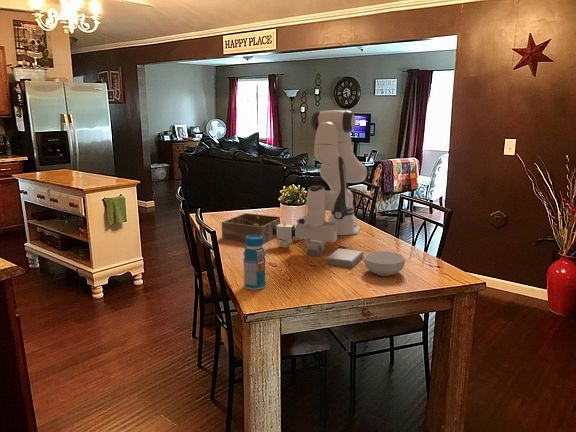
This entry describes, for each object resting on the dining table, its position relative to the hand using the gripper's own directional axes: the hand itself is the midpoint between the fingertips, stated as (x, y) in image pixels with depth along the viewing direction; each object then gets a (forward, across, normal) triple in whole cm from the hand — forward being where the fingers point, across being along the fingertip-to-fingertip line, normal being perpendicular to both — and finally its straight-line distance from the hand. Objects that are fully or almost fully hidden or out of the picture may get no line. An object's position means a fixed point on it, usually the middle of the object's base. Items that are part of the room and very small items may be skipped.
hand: (315, 248), depth 224 cm
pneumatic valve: (+2, +18, -4) cm, 19 cm away
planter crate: (+2, +42, -14) cm, 44 cm away
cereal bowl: (+3, -36, +12) cm, 38 cm away
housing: (+2, 0, 0) cm, 2 cm away
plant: (+3, +42, -14) cm, 44 cm away
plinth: (+2, -16, +4) cm, 17 cm away
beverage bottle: (+3, +5, +49) cm, 49 cm away
